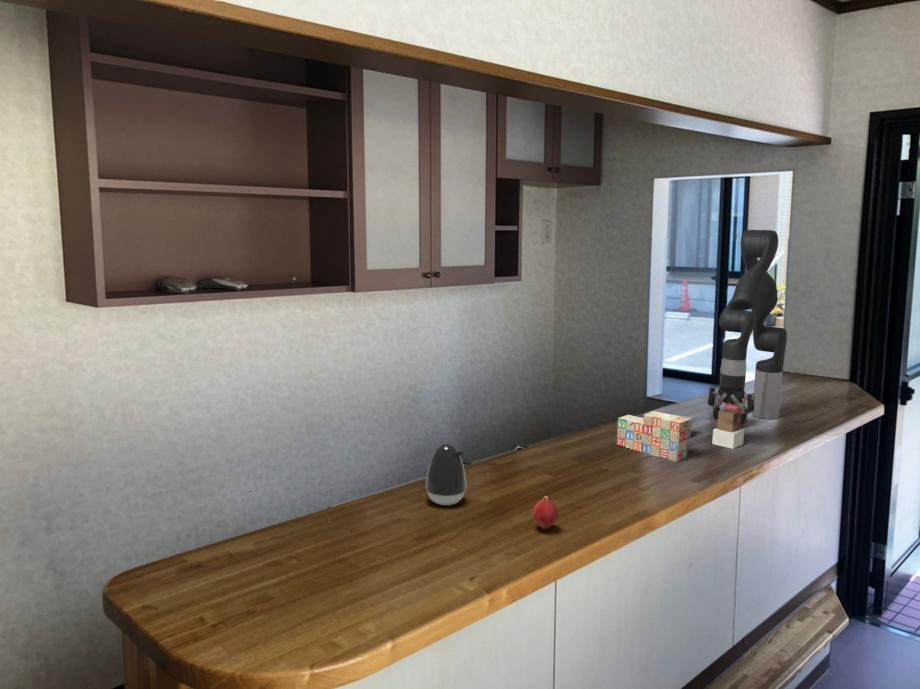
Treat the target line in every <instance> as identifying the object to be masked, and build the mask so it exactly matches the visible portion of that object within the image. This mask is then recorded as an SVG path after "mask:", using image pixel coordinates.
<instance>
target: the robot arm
mask: <svg viewBox="0 0 920 689" xmlns="http://www.w3.org/2000/svg"><path fill="white" fill-rule="evenodd" d="M778 248H779V234H778V233H777V231H775V230H772V229H747V230H745V231H743V232H742V234H741V236H740V250H741V255H742V259H743V264H744V268H745V273H744V274H743V275H742V276H741V277H740V278H739V280H738V281H737V282H736V285H735V287H734V288H735V289H734V291H733V294H732V297H731V299H730V300H729V302H728V303H727V304H726V306H725V308H724V309H723V310H722V312H721V314H720V315H719V319H718V320H719V321H718V324H719V327H720V329H721V330H722V331H725V332H728V333H729V332H731V333H739V334H740V335H739V337H737V338H731V339H730V338H729V339H726V340H725V341H724V342H723V348H722V349H723V350H722V359H721V365H720V375H719V376H720V377H719V378H720V380H719V388H718V387H717V386H711V387H710V388H709V392H708V399H707V405H708V406H711V407H712V408H713V409H712V410H713V411H712V418H714V421H715V420H716V421H718V412H719V411H720V410H721V408H720V407H721V405H723V404H725V403H727V404H728V403H730V404H732V405H735V404H736V406H737V407H738V408H739V409H740V411H741V416H740V425H744V426H745V424H746V423H747V422H748V414H751V415H752V416H753V417H754V418H759V419H766V420H774V419H775V420H776V419H778V418H779V416H780V415H779V414H780V404H781V396H782V395H781V394H782V383H783V372H784V362H785V354H786V348H787V343H788V342H787V340H788V332H787V330H786V328H784V327H778V326H777V327H776V326H767V325H765V320H766V319H767V317H768V316H769V315H770V314H771V312H772V311H773V310H775V308H776V306H777V304H778V301H779V295H778V287H777V286H778V285H777V283H776V281H775V279H774V277H772V276H771V274H770V273H768V270H769V269H770V267H771V265H772V263H773V260H774V259H775V256H776V255H777V251H778ZM750 310H751V311H750ZM751 336H752V339H753V340H752V341H753V346H754V348H755V350H757V351H760V352H765V353H773V355H772V356H771V357H770V358H767V359H762V360H761V359H760V360H759V361H758V360H757V362H756V363H755V372H754V383H753V384H754V385H753V386H754V387H753V392H752V393H747V392H746V391H745V388H746V379H747V378H746V375H747V354H748V346H749V342H750V340H751V339H750V338H751ZM717 394H718V395H719V398H718V399H717V400H716V396H717ZM744 397H745V398H746V406H745V403H744V401H743V398H744Z"/></svg>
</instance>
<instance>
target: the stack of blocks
mask: <svg viewBox="0 0 920 689" xmlns="http://www.w3.org/2000/svg"><path fill="white" fill-rule="evenodd" d="M680 416H681V415H675V414H669V413H664V412H660V411H655V410H653V411H650V412H647V413H645V414H643V417H642V416H641V417H640V416H635V415H631V414H626V415H623V416H620V417H618V418H617V433H616V446H617V445H619V446H618V447H620V446H623V447H622V448H624V447H626V448H625V449H627V448H630V449H629V450H631V449H633V450H632V451H635V450H636V452H638V451H640V452H639V453H642V452H644V453H643V454H646V453H647V455H650V456H654V457H658V458H662V459H666V460H669V461H673V462H679V461H682V460H684V459H686V458H688V457H687V456H688V447H689V446H688V444H689V438H690V436H689V423H690V419H686V418H682V417H680ZM688 437H689V438H688Z"/></svg>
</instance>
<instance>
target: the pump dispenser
mask: <svg viewBox="0 0 920 689" xmlns="http://www.w3.org/2000/svg"><path fill="white" fill-rule="evenodd" d="M465 454H466V451H465V449H461V450H458V449H457V447H456V446H455V445H453V444H451V443H448V442H445V443H442V444H440V445H438V447H437V448H436V449H435V450H434V453H433V454H432V456H431V459H430V462H429V465H428V469H427V473H426V479H425V490H426V492H427V496H428V498H429V499H430V500H431V501H432V502H434V503H435V504H437V505H440V506H446V505H447V506H453V505H455V504H457V503H459V502H460V501H461V500H462V499H463V497H464V496H465V492H466V490H467V479H466V478H467V477H466V471H465V466H464V464H463V460H462V457H461V456H463V455H465Z"/></svg>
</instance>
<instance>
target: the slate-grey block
mask: <svg viewBox="0 0 920 689" xmlns="http://www.w3.org/2000/svg"><path fill="white" fill-rule="evenodd" d="M679 416H680V417H682V418H686V419H690V423H689V437H688V439H689V438H690V437H691V435H692V426H693V424H692V423H693V417H690V416H684V415H679Z"/></svg>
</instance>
